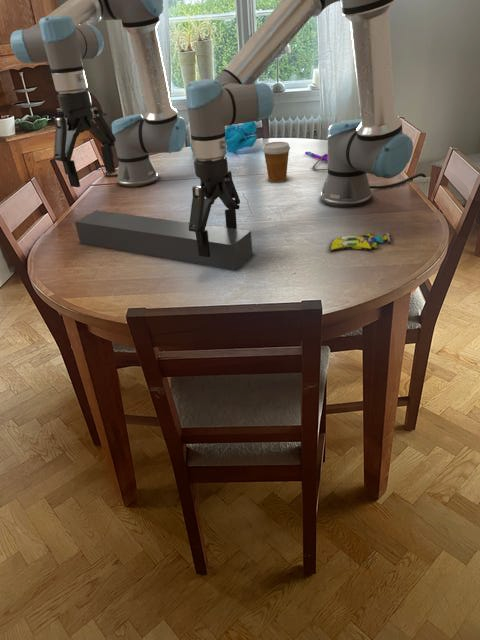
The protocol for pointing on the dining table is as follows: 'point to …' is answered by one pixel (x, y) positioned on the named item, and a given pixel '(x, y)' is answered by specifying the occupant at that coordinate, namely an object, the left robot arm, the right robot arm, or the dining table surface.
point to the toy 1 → (239, 136)
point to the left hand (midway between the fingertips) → (93, 178)
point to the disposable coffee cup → (276, 160)
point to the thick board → (164, 238)
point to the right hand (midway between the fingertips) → (218, 244)
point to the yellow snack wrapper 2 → (358, 242)
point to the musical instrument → (324, 158)
